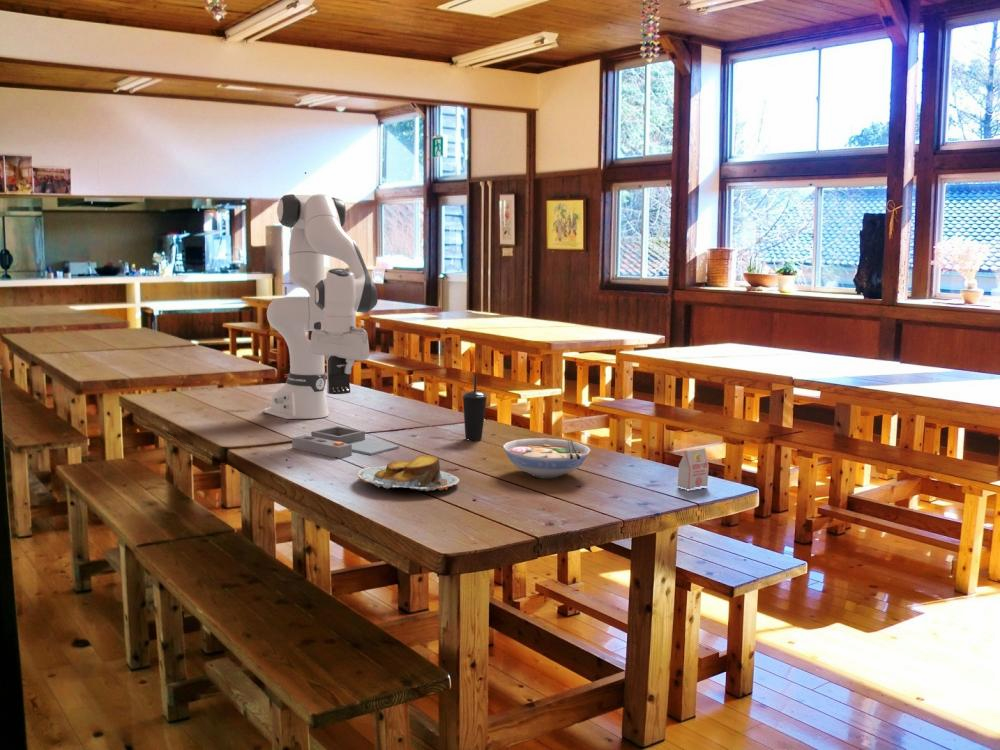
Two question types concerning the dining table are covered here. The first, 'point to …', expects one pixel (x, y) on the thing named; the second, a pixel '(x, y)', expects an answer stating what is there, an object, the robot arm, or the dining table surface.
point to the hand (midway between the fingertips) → (339, 372)
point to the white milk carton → (693, 469)
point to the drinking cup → (474, 412)
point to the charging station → (329, 441)
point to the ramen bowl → (546, 456)
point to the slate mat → (372, 447)
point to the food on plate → (409, 474)
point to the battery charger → (337, 376)
